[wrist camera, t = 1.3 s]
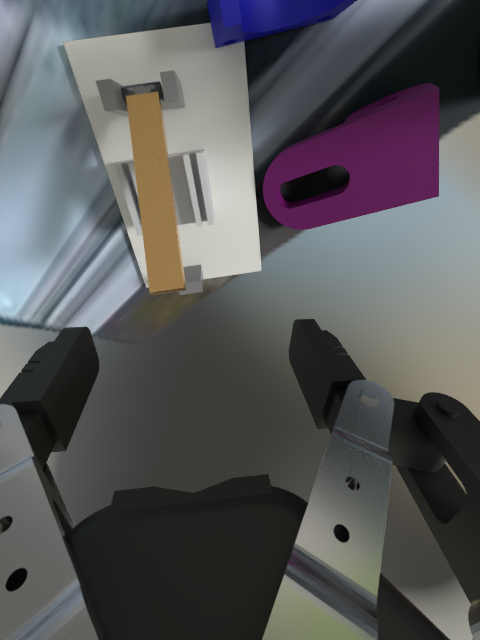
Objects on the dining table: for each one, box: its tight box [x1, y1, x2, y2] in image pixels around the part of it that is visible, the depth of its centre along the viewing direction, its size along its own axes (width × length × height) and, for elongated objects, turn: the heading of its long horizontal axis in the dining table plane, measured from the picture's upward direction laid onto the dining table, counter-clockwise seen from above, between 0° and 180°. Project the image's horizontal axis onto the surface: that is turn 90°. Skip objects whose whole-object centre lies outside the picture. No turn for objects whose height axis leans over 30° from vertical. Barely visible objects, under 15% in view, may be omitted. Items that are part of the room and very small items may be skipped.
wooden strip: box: [121, 81, 186, 295], centre depth 24 cm, size 19×3×1 cm
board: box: [63, 23, 261, 295], centre depth 31 cm, size 17×26×8 cm, turn 7°
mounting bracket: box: [263, 83, 439, 230], centre depth 34 cm, size 9×8×18 cm
